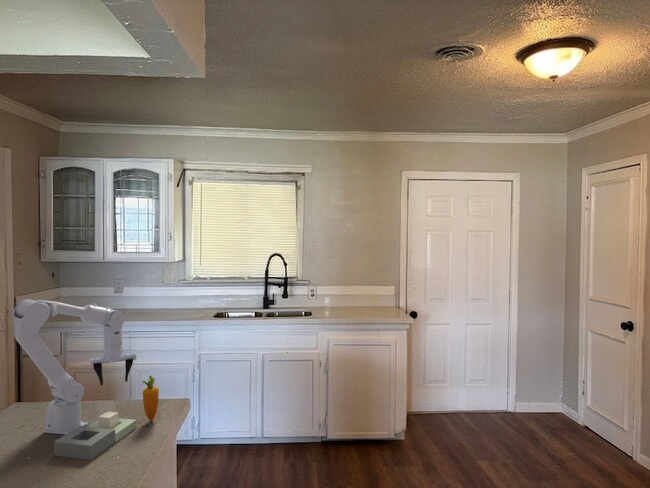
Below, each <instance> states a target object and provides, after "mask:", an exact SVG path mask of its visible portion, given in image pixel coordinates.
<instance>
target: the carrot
mask: <svg viewBox="0 0 650 488" xmlns="http://www.w3.org/2000/svg"><path fill="white" fill-rule="evenodd" d="M148 378H149V379H148V382H147V381H145V380H142V384H145V385H146V387H145V388H144V389H143V390H142V401H143V402H142V403H143V408H144V412H145V415H146V418H147V419H148V420H149V421H150V422H153V421H154V419H155V417H156V414H157V411H158V407H159V406H158V405H159V388H158V387H157V386H155V385H154V384H155V380H156V379H155V377H153V375H149V376H148Z"/></svg>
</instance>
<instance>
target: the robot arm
mask: <svg viewBox="0 0 650 488" xmlns="http://www.w3.org/2000/svg"><path fill="white" fill-rule="evenodd" d="M58 314H59V315H65V316H71V317H79V318H80V320H81V321H82V322H83V323H87V324H88V323H89V324H95V325H100V326H101V325H102V327H103V329H102V330H103V331H102V332H103V355H101V356H99V357H92V358H89V366H93V367H92V368H93V370H94V372H95V373H96V375H97V378H98V380H99V383H100V386H103V385H104V378H103V364H109V363H110V364H111V363H118V362H125V365H124V366H125V373H124V374H125V375H124V382H125V383H126V382H128V380H129V373H130V371H131V369H132V367H133V364H134V361H136V360H137V353H136V352H134V353H133V352H132V353H123V331H122V330H123V325H124V323H125V320H126V316H124V313H123V312H122V311H120V310H117V309H112V308H111V307H109V306H105V307H102V306H98V304H96V303H91V304H86V305H85V306H82V307H81V306H76V305H72V304H67V303H63V302H59V301H53V300H42V299H36V300H33V299H31V298H26V299H25V298H24V299H22V300H20V301H19V302H18V303H17V304H16V305H15V307H14V309H13V311H12V315H11V316H12V318H13V333H14V334H13V335H14V338H15V340H16V341H17V343H18V344H19V345H20V347H21V348H22V349H23V350H24V352H25V353H26V354H27V356H29V358H30V360H32V362H33V363H34V364H35V366H36V367H37V368H38V369H39V370H40V373H42V374H43V376H44V377H45V379H46V380H47V385H48V386H49V387H50V393H51V395H52V396H53V397H54V399H53V400H52V401H51V402H50V403H48V405H47V407H46V411H45V422H46V423H45V426H46V429H45V430H44V431H43V432H44V433H48V434H56V435H66V434H68V433H69V432H71V431H73V430H74V429H76V428H78V427H80V426H88V424H89V423H88V422H86V421H85V422H84V421H82V405H81V403H82V402H81V401H82V400H81V399H82V397H84V393H85V387H84V385H83V384H81V383H80V382H77V381H76V380H75V378H73V377H72V376H71V375H70V374H68V373H67V372H66V370H65V369H64V368H63V366H62V365H61V364H60V363H59V361H58V360H57V358H56V357H55V356H54V354H53V353H52V352H51V351H50V349H49V348H48V347H47V345H46V344H45V343H44V341H43V340H42V339H41V337H40V336H39V332H40V330H41V328H42V326H43V325H45V323H46V322H47V320H48V319H49V317H50V318H53V317H54V316H57V315H58Z"/></svg>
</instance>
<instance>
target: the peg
mask: <svg viewBox="0 0 650 488" xmlns="http://www.w3.org/2000/svg"><path fill="white" fill-rule="evenodd" d="M119 418H120V417H119V412H117V411H109V410H108V411H105V412H104V413H101V415H99V416H98V417H97V419H98V420H97V421H98V425H99V428H106V429H113V428H114V427H116V426H117V425H119Z"/></svg>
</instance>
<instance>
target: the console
mask: <svg viewBox="0 0 650 488" xmlns="http://www.w3.org/2000/svg"><path fill="white" fill-rule="evenodd" d="M118 418H119V425H117V426H116V427H114V428H113V429H106V428H99V425H98V420H96V421H94V422H92V423H91V424H90V425H85V426H80V427H78V428H76V429H74V430H73V431H71V432H69V433H68V434H66V435H65V434H63V436H61V437H59V438H58V439H56V440H54V441H53V456H56V457H63V458H71V459H81V460H88V461H89V460H90V461H91V460H92V461H93V459H94V458H96V457H97V456H99V455H101V453H103V452H104V451H106V450H107V449H108V448H110V447H111V446H113V445H115V443H117V442H119V441H120V440H121V439H123V438H124V437H125V436H127V435H128V434H130V433H131V432H133V431H134V430H135V429H136V428H137V419H132V418H131V419H130V418H129V419H128V418H121V417H118Z"/></svg>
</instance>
